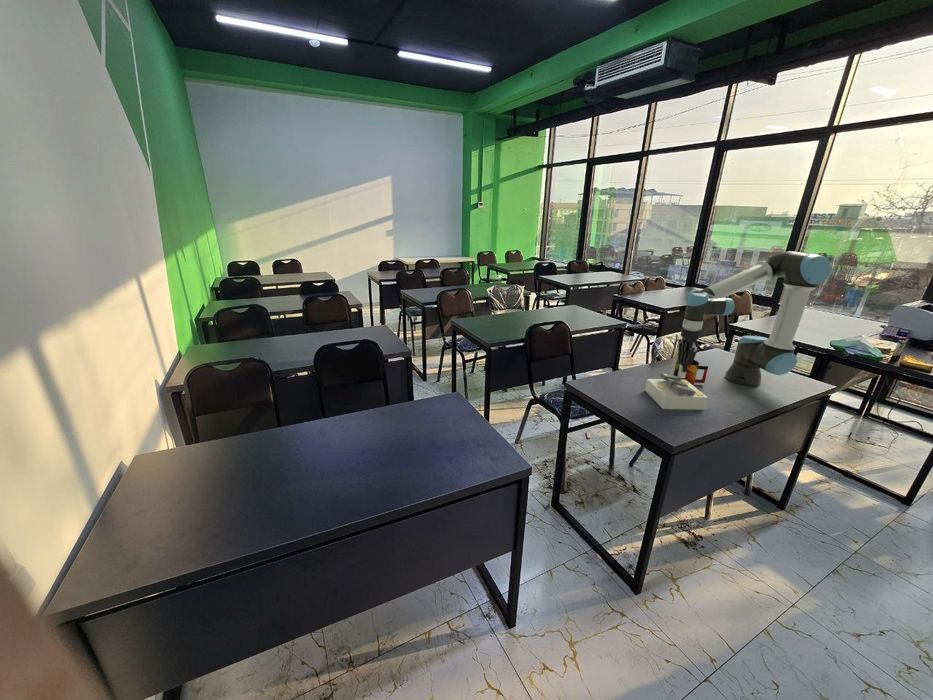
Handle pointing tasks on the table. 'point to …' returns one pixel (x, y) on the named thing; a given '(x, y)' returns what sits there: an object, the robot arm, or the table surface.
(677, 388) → the block
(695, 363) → the mug
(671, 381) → the block
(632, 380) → the table surface
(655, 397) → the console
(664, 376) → the block
